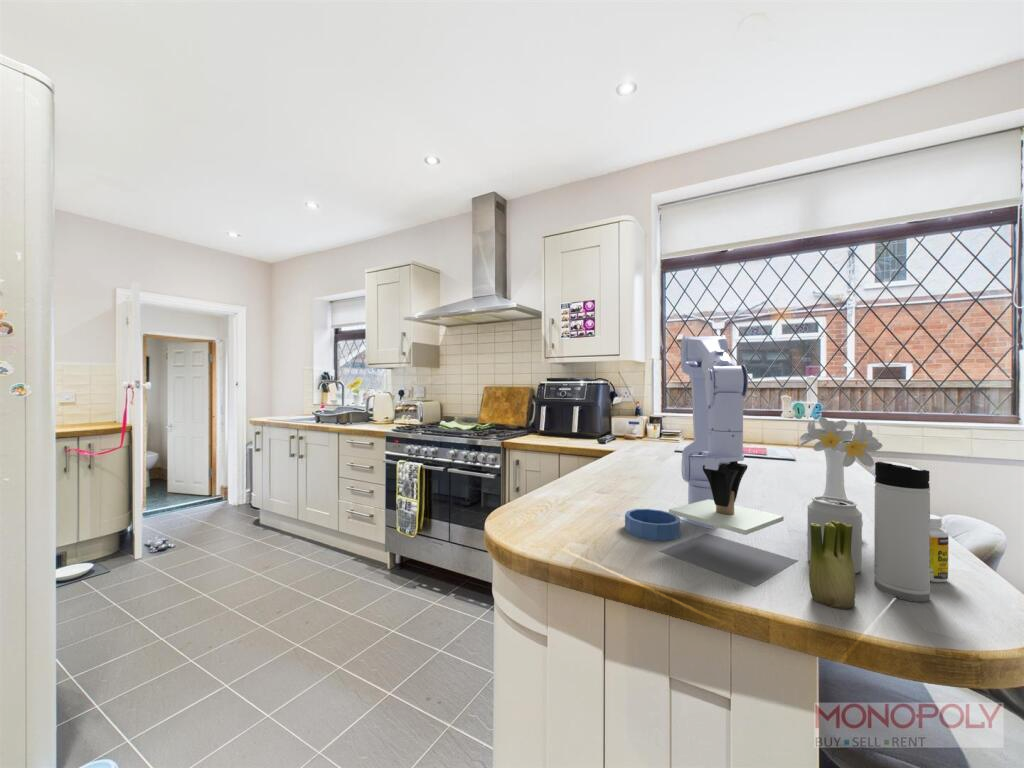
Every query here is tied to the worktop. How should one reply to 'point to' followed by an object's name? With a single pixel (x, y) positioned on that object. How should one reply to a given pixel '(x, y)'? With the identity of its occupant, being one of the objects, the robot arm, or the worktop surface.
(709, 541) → the mat
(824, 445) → the flower vase
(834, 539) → the fennel bulb
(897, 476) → the travel mug
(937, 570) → the supplement bottle
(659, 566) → the worktop surface
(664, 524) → the bowl
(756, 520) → the lid
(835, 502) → the can
